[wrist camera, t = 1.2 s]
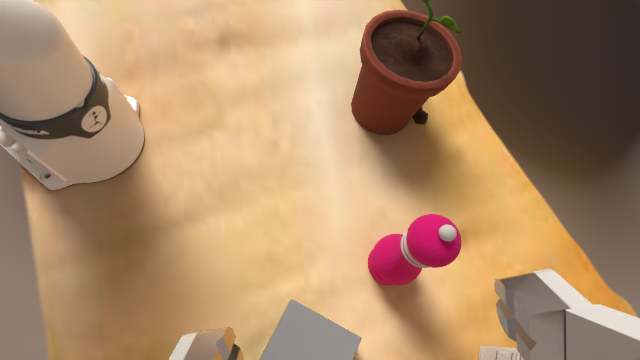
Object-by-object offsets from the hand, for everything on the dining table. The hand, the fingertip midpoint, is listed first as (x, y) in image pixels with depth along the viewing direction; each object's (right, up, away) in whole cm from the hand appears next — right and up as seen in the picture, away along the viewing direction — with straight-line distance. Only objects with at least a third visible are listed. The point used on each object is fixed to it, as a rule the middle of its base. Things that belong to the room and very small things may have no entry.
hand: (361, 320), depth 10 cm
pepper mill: (+9, -9, +42) cm, 44 cm away
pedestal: (-4, -20, +35) cm, 40 cm away
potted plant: (+12, +20, +56) cm, 61 cm away
